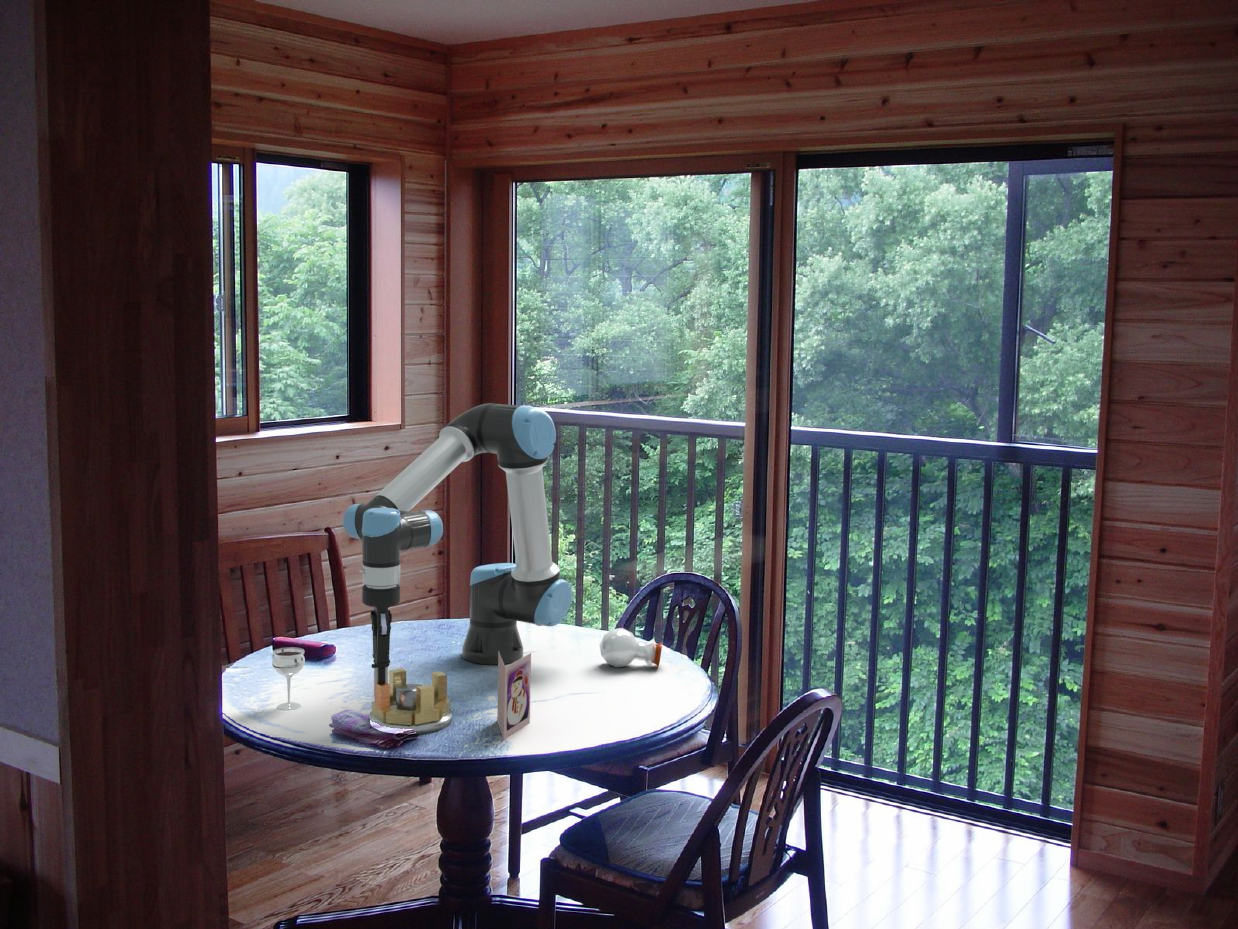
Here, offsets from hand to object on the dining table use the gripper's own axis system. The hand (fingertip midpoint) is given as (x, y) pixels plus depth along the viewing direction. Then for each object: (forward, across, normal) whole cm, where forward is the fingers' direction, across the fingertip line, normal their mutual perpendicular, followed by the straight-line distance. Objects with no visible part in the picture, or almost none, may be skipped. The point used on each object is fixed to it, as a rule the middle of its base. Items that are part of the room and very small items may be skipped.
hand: (380, 696), depth 246 cm
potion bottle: (+7, -29, +63) cm, 70 cm away
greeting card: (+6, +8, +24) cm, 26 cm away
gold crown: (+4, 0, +6) cm, 7 cm away
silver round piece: (+6, 0, +6) cm, 9 cm away
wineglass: (+6, -15, -18) cm, 24 cm away
